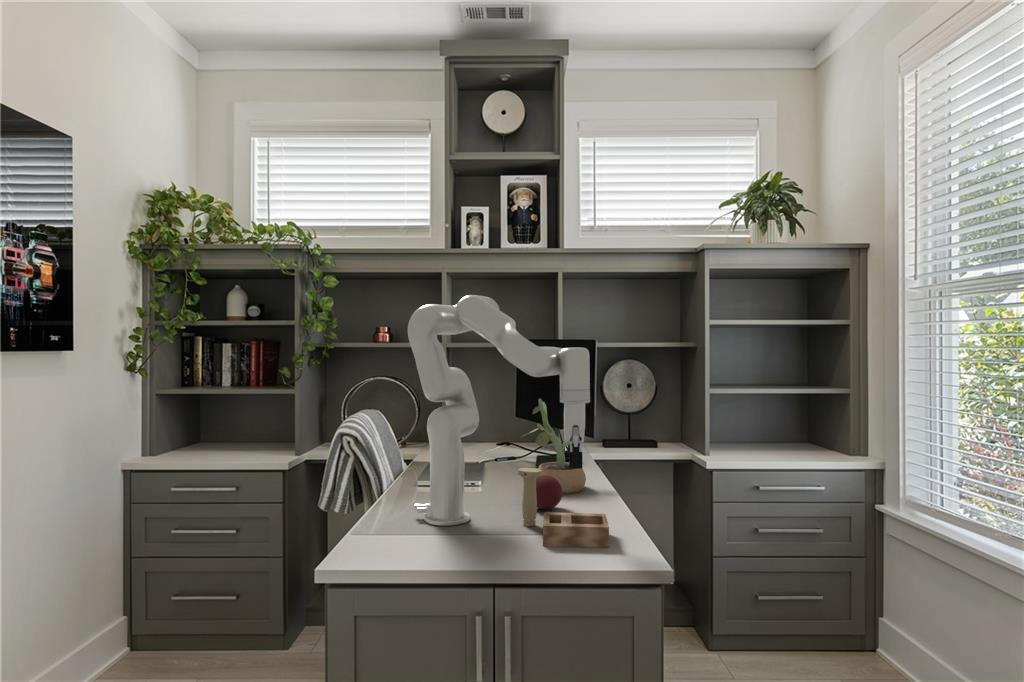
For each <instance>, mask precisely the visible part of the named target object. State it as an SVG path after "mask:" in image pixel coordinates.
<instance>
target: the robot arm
mask: <svg viewBox="0 0 1024 682" xmlns="http://www.w3.org/2000/svg"><path fill="white" fill-rule="evenodd" d="M516 324H517V323H516V321H515V320H514V319H513V318H512V317H510V316H509V315H507V314H506V313H505V312H503V311H501V310H500V306H499V305H498V303H497V302H496V301H495V300H494V299H493V298H491V297H489V296H487V295H486V296H485V295H484V296H483V295H476V294H468V295H465V296H463V297H462V298H460V300H459V301H458V302H457V303H456V304H455V305H454V304H453V305H448V304H437V303H430V304H429V303H428V304H425V305H422V306H420V307H419V308H417V309H416V310H415V311H414V312H413V313H412V315H411V316H410V319H409V321H408V325H407V337H408V342H409V345H410V348H411V351H412V353H413V356H414V357H413V358H414V359H415V366H416V369H417V373H418V377H419V381H420V384H421V388H422V391H423V395H424V396H425V399H427V400H428V401H430V402H432V403H443V402H445V405H443V406H440V407H439V406H438V408H437V407H436V409H434V410H433V411H431V413H430V414H429V415H428V418H427V421H426V422H427V423H426V431H427V437H428V442H429V502H428V503H425V504H422V503H415V504H414V511H415V512H417V513H425V514H424V516H423V518H424V522H425V523H427V524H429V525H432V526H440V527H443V526H444V527H446V526H456V525H457V526H458V525H462V524H466V523H467V522H469V521H470V517H471V514H470V513H469V512H466V511H465V450H464V447H463V443H462V439H461V438H464V437H467V436H470V435H472V434H473V433H475V431H476V430H477V429H478V427H479V423H480V415H479V409H478V406H477V402H476V397H475V395H474V390H473V387H472V383H471V381H470V379H469V377H468V375H467V374H466V372H465V371H464V370H462V369H461V368H459V367H453V366H449V364H448V360H447V358H446V352H445V350H444V347H443V345H442V344H441V342H440V341H439V339H438V336H439V335H440V336H444V335H445V336H447V335H448V336H450V335H451V336H452V335H459V334H463V333H468V332H472V331H473V332H474V333H475V334H477V335H479V336H480V337H482V338H483V339H485V340H486V341H488V342H489V343H490V344H492V345H494V346H495V347H496V349H497V351H498V352H499V353H500V354H501V356H503V358H504V359H505V360H507V362H509V363H510V364H512V365H513V366H514V367H516V368H518V369H519V370H520V371H522V372H524V373H525V374H527V375H528V376H530V377H534V378H540V377H541V378H543V377H549V376H550V377H551V376H557V375H558V376H559V403H562V404H563V429H564V432H563V439H564V440H563V443H564V442H565V443H567V441H570V444H569V445H568V460H569V461H568V462H569V467H570V468H576V469H581V468H583V462H584V461H583V451H582V443H584V442H585V430H586V404H589V403H591V390H590V389H591V383H590V381H591V378H590V377H591V375H590V373H591V372H590V366H591V364H590V351H589V349H588V348H586V347H579V346H578V347H564V348H563V347H556V346H539V345H536V344H535V343H533V342H532V341H531V340H529V339H528V338H526V337H525V336H523V335H522V334H520V332H519V331H518V330H517V329H516V327H517V325H516Z"/></svg>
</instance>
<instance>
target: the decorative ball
mask: <svg viewBox="0 0 1024 682" xmlns="http://www.w3.org/2000/svg"><path fill="white" fill-rule="evenodd" d="M536 497H537V509H541V510H545V511H546V510H550V509H551V510H552V509H553V508H556V506H558V504H559V503H560V502H561V500H562V498H563V494H562V487H561V485H560V483H559V481H558V480H557V479H555V478H554V477H552V476H549V475H541V476H539V477H538V478H536Z"/></svg>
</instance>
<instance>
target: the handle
mask: <svg viewBox="0 0 1024 682" xmlns="http://www.w3.org/2000/svg"><path fill="white" fill-rule="evenodd" d="M517 472H518V474H517V475H519V476H520V477H522V479H523V480H522V481H523V486H522V488H523V489H522V501H521V503H522V504H521V506H522V507H521V509H522V511H521V512H522V519H523V521H522V524H523V526H525V527H534V526H536V524H537V521H536V518H537V513H538V510H537V509H538V507H537V497H536V478H538V477H539V476H541V470H540V469H538V468H532V467H521V468H518V469H517Z"/></svg>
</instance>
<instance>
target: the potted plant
mask: <svg viewBox="0 0 1024 682" xmlns="http://www.w3.org/2000/svg"><path fill="white" fill-rule="evenodd" d="M537 402H538V406H535V407H534V409H533V410H532V415H535V414H537V413H538V412H540V414H541V420H542V421H541V422H542V425H543V426H542V425H541V424H540V423H537V424H536V426H537V427H538V428H537V427H536V428H535V429H533V430H531V431H530V432H528V433H524V434H522V435H520V436H519V437H517V438H523V437H525V436H527V435H529V434H531V433H534V432H536V431H537V430H539V429H540V430H541V432H540V433H539V434H538V435H537V436H536V437H535V441H534V442H535V443H536V445H537V446H539V447H540V448H541V447H542V448H546V449H547V448H548V444H549V442H550V441H551V442H552V444H553V447H554V450H555V453H556V461H550V462H545V463H541V464H539V465H538V468H537V469H540V470H541V475H549V476H552V477H554V478H555V479H557V480H558V481H559V483H560V485H561V487H562V495H563V494H564V495H569V494H575V493H579V492H580V491H582V490H583V489H584V488H585V485H586V480H587V477H586V472H585V471H584V468H583V467H582V468H581V469H576V468H570V467H569V461H568V462H566V456H565V451H564V450H565V448H567V446H568V447H569V445H570V441H567V443H565V442H564V441H563V443H562V442H561V441H560V439H559V438H558V436H557V435H556V432H555V430H554V429H553V428H552V427H551V425H550V424H549V419H548V407H547V405H546V403H545V401H543V400H542V398H538V401H537ZM561 430H562V433H564V428H562V429H561Z"/></svg>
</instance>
